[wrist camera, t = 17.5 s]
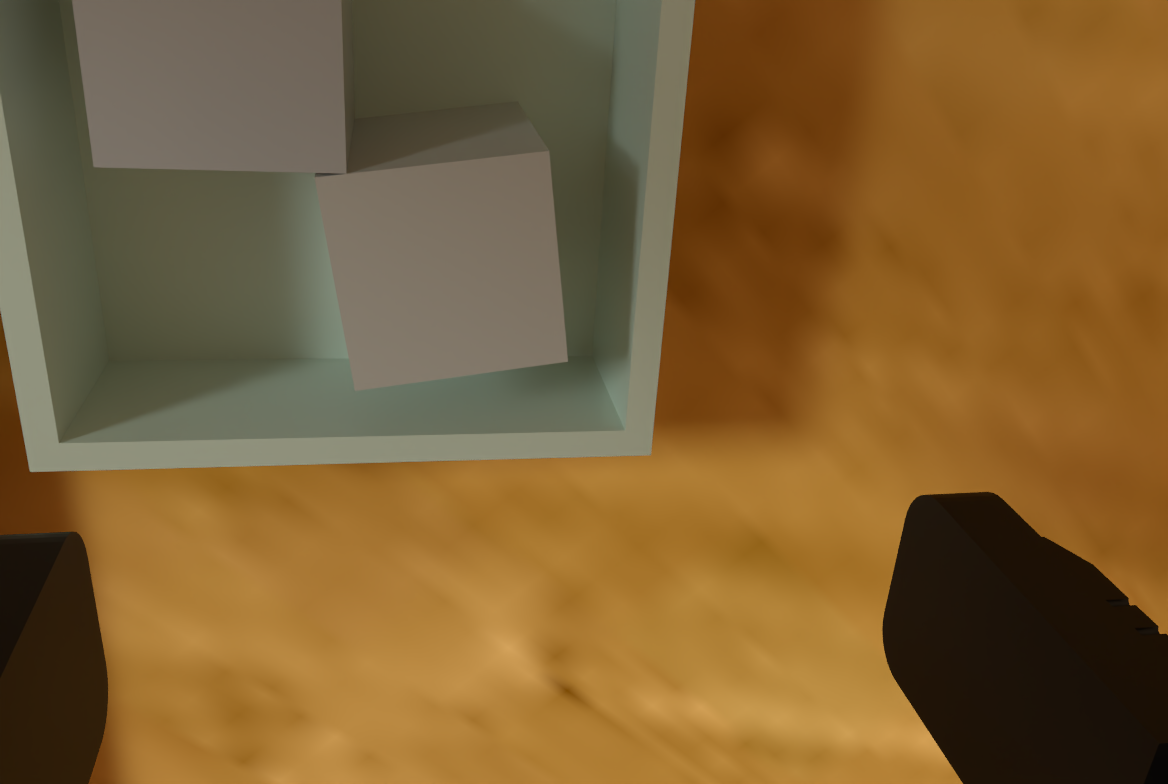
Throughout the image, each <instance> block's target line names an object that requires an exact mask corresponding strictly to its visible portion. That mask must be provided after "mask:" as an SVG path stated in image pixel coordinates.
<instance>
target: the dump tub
mask: <svg viewBox="0 0 1168 784" xmlns="http://www.w3.org/2000/svg"><path fill="white" fill-rule="evenodd" d="M694 7H695V0H352V15H353V53H354V92H355V119H358V118H367V117H376V116H385V115H395V114H404V113H413V112H422V111H432V110H441V109H450V108H459V107H469V106H478V105H487V104H497V103H506V102H515V101H518V103H519V104H520V106H521V107H522V109H523V111H524V112H525V114H526V115H527V117H528V118H529V120H530V122H531V123H532V125H533V126H534V128H535V129H536V131H537V133H538V134H539V136H540V137H541V139H542V140H543V142H544V144H545V145H546V147H547V148H548V150H549V155H550V166H551V177H552V188H553V199H554V210H555V222H556V233H557V244H558V255H559V266H560V277H561V288H562V299H563V310H564V321H565V332H566V344H567V355H568V362H561V363H554V364H547V365H540V366H532V367H525V368H518V369H511V370H503V371H496V372H489V373H482V374H475V375H467V376H460V377H453V378H446V379H438V380H431V381H424V382H417V383H409V384H402V385H395V386H388V387H380V388H373V389H366V390H359V391H355V389H354V383H353V378H352V373H351V367H350V362H349V357H348V352H347V346H346V341H345V336H344V331H343V325H342V320H341V315H340V310H339V304H338V299H337V294H336V289H335V283H334V278H333V273H332V268H331V262H330V257H329V252H328V247H327V241H326V236H325V231H324V225H323V220H322V215H321V210H320V204H319V199H318V194H317V189H316V183H315V178H314V177H315V174H316V173H299V172H259V171H219V170H179V169H139V168H99V167H94V166H93V158H92V151H91V143H90V135H89V128H88V120H87V112H86V105H85V97H84V89H83V82H82V74H81V66H80V59H79V51H78V43H77V36H76V28H75V20H74V12H73V5H72V0H0V311H1V317H2V322H3V327H4V333H5V338H6V344H7V349H8V355H9V360H10V366H11V371H12V377H13V382H14V388H15V393H16V399H17V404H18V409H19V415H20V420H21V426H22V431H23V437H24V442H25V448H26V453H27V459H28V464H29V470H30V472H50V471H87V470H124V469H161V468H198V467H235V466H272V465H309V464H346V463H383V462H420V461H457V460H494V459H531V458H568V457H605V456H642V455H651V449H652V438H653V428H654V418H655V408H656V397H657V387H658V377H659V366H660V356H661V346H662V336H663V325H664V315H665V305H666V295H667V284H668V274H669V264H670V254H671V243H672V233H673V223H674V213H675V202H676V192H677V182H678V172H679V161H680V151H681V141H682V131H683V120H684V110H685V100H686V90H687V79H688V69H689V59H690V48H691V38H692V28H693V18H694Z"/></svg>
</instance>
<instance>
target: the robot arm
mask: <svg viewBox="0 0 1168 784" xmlns="http://www.w3.org/2000/svg"><path fill="white" fill-rule="evenodd" d="M1128 599H1129V598H1128V597H1127V596H1126V595H1124V594H1123V593H1122V592H1121V591H1120V590H1119V589H1118V588H1117V587H1116V586H1115V585H1114V584H1113V583H1112V582H1111V581H1110V580H1109V579H1108V578H1106V577H1105V576H1104V575H1103V574H1102V573H1101V572H1100V571H1099V570H1098V569H1097V568H1096V567H1095V566H1094V565H1093V564H1091V563H1089V562H1087V561H1086V560H1084V559H1082V558H1080V557H1079V556H1077V555H1075V554H1073V553H1072V552H1070V551H1068V550H1066V549H1065V548H1063V547H1061V546H1059V545H1058V544H1056V543H1054V542H1052V541H1051V540H1049V539H1047V538H1045V537H1041V536H1040V535H1039V534H1038V533H1037V532H1036V531H1035V530H1034V529H1033V528H1031V527H1030V526H1029V525H1028V524H1027V523H1026V522H1025V521H1024V520H1023V519H1022V518H1021V517H1020V516H1019V515H1018V514H1017V513H1016V512H1015V511H1014V510H1013V509H1012V508H1011V507H1010V506H1009V505H1008V504H1007V503H1006V502H1005V501H1004V500H1003V499H1002V498H1000V497H999V496H998V495H996V494H994V493H991V492H977V493H955V494H933V495H921V496H919V497H917V498H916V499H915V500H914V501H913V502H912V503H911V505H910V507H909V509H908V511H907V515H906V518H905V522H904V527H903V531H902V536H901V540H900V545H899V549H898V554H897V558H896V563H895V567H894V572H893V576H892V581H891V585H890V590H889V594H888V599H887V603H886V608H885V612H884V618H883V644H884V650H885V655H886V659H887V662H888V665H889V668H890V670H891V673H892V675H893V677H894V679H895V680H896V682H897V684H898V685H899V687H900V688H901V690H902V691H903V693H904V694H905V696H906V697H907V699H908V700H909V702H910V703H911V705H912V706H913V708H914V709H915V711H916V712H917V714H918V716H919V717H920V719H921V720H922V722H923V723H924V725H925V726H926V728H927V729H928V731H929V732H930V734H931V735H932V737H933V738H934V740H935V741H936V743H937V745H938V746H939V748H940V749H941V751H942V752H943V754H944V755H945V757H946V758H947V760H948V761H949V763H950V764H951V766H952V767H953V769H954V770H955V772H956V773H957V775H958V777H959V778H960V780H961V781H962V783H963V784H1168V635H1167V634H1159V631H1158V626H1157V625H1156V624H1155V623H1154V622H1153V621H1152V620H1151V619H1150V618H1149V617H1148V616H1147V615H1146V614H1145V613H1144V612H1142V611H1141V610H1140V609H1139V608H1138V607H1137V606H1136V605H1132V606H1130V605H1129V602H1128ZM107 704H108V678H107V668H106V662H105V656H104V650H103V644H102V638H101V633H100V627H99V621H98V615H97V609H96V603H95V598H94V592H93V586H92V580H91V574H90V568H89V563H88V557H87V552H86V548H85V545H84V542H83V540H82V538H81V536H80V535H79V534H78V533H77V532H58V533H36V534H14V535H0V784H88V783H89V780H90V777H91V774H92V771H93V767H94V764H95V761H96V758H97V755H98V752H99V748H100V745H101V742H102V738H103V734H104V729H105V723H106V716H107Z"/></svg>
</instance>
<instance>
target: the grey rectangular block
mask: <svg viewBox="0 0 1168 784" xmlns="http://www.w3.org/2000/svg"><path fill="white" fill-rule="evenodd" d="M314 178H315V183H316V189H317V194H318V199H319V204H320V210H321V215H322V220H323V225H324V231H325V236H326V241H327V247H328V252H329V257H330V262H331V268H332V273H333V278H334V283H335V289H336V294H337V299H338V304H339V310H340V315H341V320H342V325H343V331H344V336H345V341H346V346H347V352H348V357H349V362H350V367H351V373H352V378H353V383H354V389H355V391H359V390H366V389H373V388H380V387H388V386H395V385H402V384H409V383H417V382H424V381H431V380H438V379H446V378H453V377H460V376H467V375H475V374H482V373H489V372H496V371H503V370H511V369H518V368H525V367H532V366H540V365H547V364H554V363H561V362H568V355H567V344H566V332H565V321H564V310H563V299H562V288H561V277H560V266H559V255H558V244H557V233H556V222H555V210H554V199H553V188H552V177H551V166H550V155H549V150H548V148H547V147H546V145H545V144H544V142H543V140H542V139H541V137H540V136H539V134H538V133H537V131H536V129H535V128H534V126H533V125H532V123H531V122H530V120H529V118H528V117H527V115H526V114H525V112H524V111H523V109H522V107H521V106H520V104H519V103H518V101H515V102H506V103H497V104H487V105H478V106H469V107H459V108H450V109H441V110H432V111H422V112H413V113H404V114H395V115H385V116H376V117H367V118H358V119H355V123H354V129H353V136H352V142H351V148H350V155H349V161H348V167H347V174H338V173H316V174H315V177H314Z"/></svg>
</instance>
